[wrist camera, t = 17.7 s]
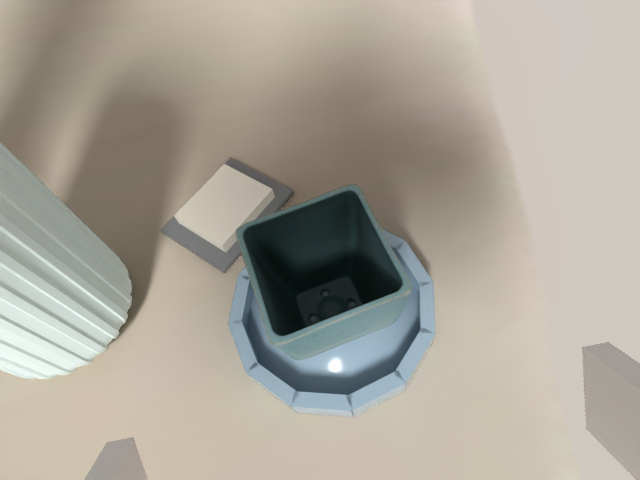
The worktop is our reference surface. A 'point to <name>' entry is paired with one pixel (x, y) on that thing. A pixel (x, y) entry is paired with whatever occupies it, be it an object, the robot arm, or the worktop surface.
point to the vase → (52, 281)
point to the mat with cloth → (225, 212)
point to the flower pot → (323, 273)
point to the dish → (340, 351)
